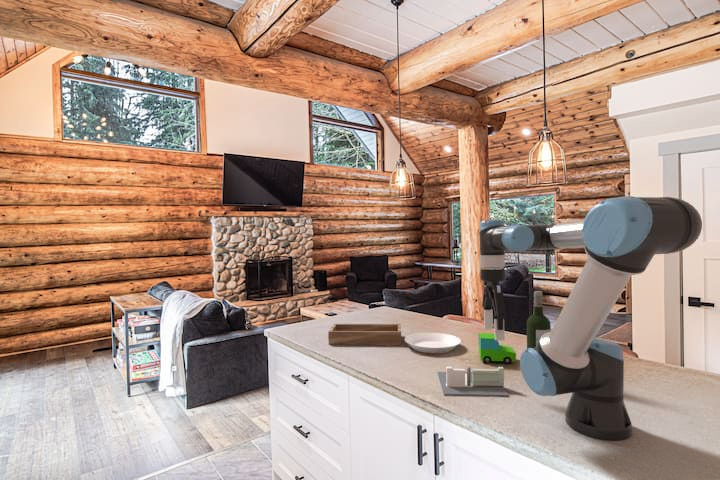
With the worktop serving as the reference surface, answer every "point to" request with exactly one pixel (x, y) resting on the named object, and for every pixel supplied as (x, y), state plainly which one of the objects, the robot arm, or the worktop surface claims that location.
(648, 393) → the worktop surface
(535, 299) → the wine bottle
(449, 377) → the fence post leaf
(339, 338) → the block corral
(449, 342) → the white plate
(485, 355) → the toy car
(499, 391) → the mat
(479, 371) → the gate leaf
